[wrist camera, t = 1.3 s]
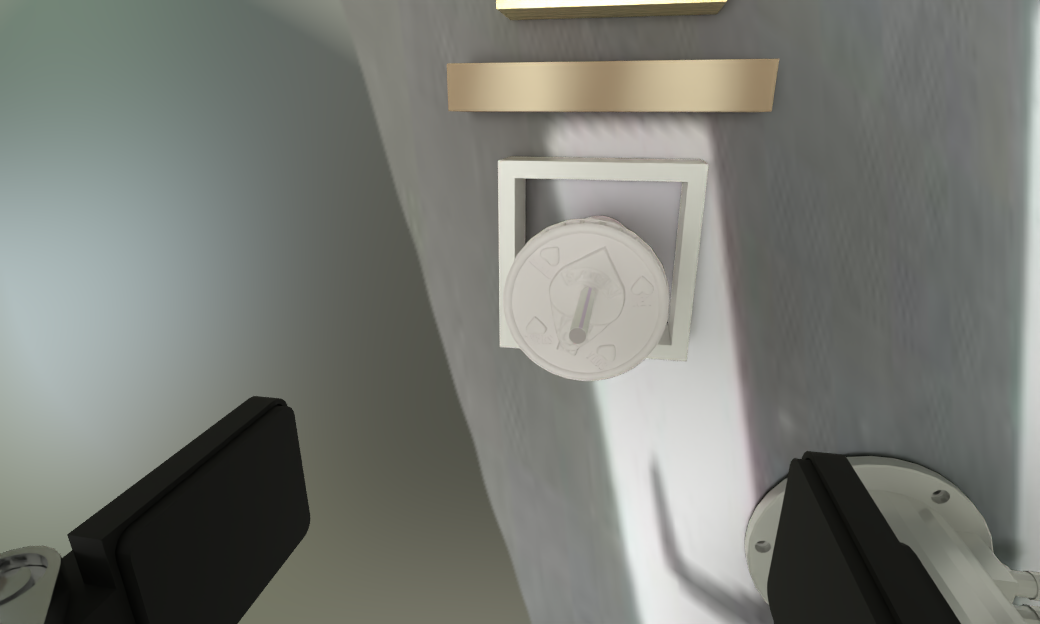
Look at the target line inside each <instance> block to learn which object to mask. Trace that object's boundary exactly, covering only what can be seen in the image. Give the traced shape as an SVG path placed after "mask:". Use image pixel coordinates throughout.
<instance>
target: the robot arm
mask: <svg viewBox="0 0 1040 624" xmlns="http://www.w3.org/2000/svg"><path fill="white" fill-rule="evenodd" d="M309 524H310V512H309V505H308V499H307V494H306V486H305V480H304V473H303V468H302V460H301V454H300V448H299V441H298V435H297V428H296V422H295V415H294V411H293V410H292V408H290V407H288V406H287V404H286V402H285V401H284V400H283V399H279V398H269V397H258V396H253V397H251V398H249V399H248V400H247V401H245V402H244V403H242V404H241V405H240V406H238V407H237V408H236V409H234V410H233V411H232V412H231V413H229V414H228V415H226V416H225V417H224V418H222V419H221V420H220V421H218V422H217V423H216V424H215V425H213V426H212V427H210V428H209V429H208V430H206V431H205V432H204V433H202V434H201V435H200V436H198V437H197V438H196V439H194V440H193V441H192V442H190V443H189V444H188V445H186V446H185V447H184V448H182V449H181V450H180V451H178V452H177V453H176V454H174V455H173V456H172V457H170V458H169V459H168V460H166V461H165V462H164V463H162V464H161V465H160V466H159V467H157V468H156V469H154V470H153V471H152V472H150V473H149V474H148V475H146V476H145V477H144V478H142V479H141V480H140V481H138V482H137V483H136V484H134V485H133V486H132V487H130V488H129V489H128V490H126V491H125V492H124V493H122V494H121V495H120V496H118V497H117V498H116V499H114V500H113V501H112V502H110V503H109V504H108V505H106V506H105V507H104V508H102V509H101V510H100V511H98V512H97V513H96V514H94V515H93V516H91V517H90V518H89V519H87V520H86V521H85V522H83V523H82V524H81V525H79V526H78V527H77V528H75V529H74V530H73V531H71V532H70V533H69V534H68V538H69V541H70V544H71V547H72V551H71V552H69V553H68V554H67V555H66V556H64V557H63V558H61V555H60V554H59V553H58V552H57V551H56V550H55V549H54V548H50V547H47V546H27V547H22V548H18V549H13V550H9V551H6V552H3V553H0V624H237V623H238V622H239V621H240V620H241V618H242V617H243V616H244V614H245V613H246V612H247V611H248V609H249V608H250V607H251V605H252V604H253V603H254V601H255V600H256V599H257V597H258V596H259V595H260V594H261V592H262V591H263V590H264V588H265V587H266V586H267V585H268V583H269V582H270V580H271V579H272V578H273V577H274V575H275V574H276V573H277V571H278V570H279V569H280V568H281V566H282V565H283V564H284V562H285V561H286V560H287V559H288V557H289V556H290V555H291V553H292V552H293V551H294V549H295V548H296V547H297V545H298V544H299V543H300V541H301V540H302V539H303V538H304V536H305V535H306V533H307V531H308V528H309ZM745 555H746V559H747V564H748V568H749V572H750V575H751V577H752V580H753V582H754V585H755V587H756V589H757V590H758V592H759V593H760V595H761V596H762V598H763V599H764V600H765V602H766V603H767V604H768V605H769V606H770V610H771V613H772V617H773V620H774V624H1040V607H1039V606H1031V605H1024V604H1023V605H1021V606H1019V605H1012V603H1013V601H1014V598H1015V596H1018V597H1025V598H1028V599H1030V600H1037V601H1040V572H1032V571H1023V572H1022V571H1014V570H1010V569H1009V567H1008V566H1007V565H1005V564H1002V563H1001V562H1000V561H999V559H998V558H997V557H996V556H995V555H994V553H993V545H992V537H991V534H990V531H989V529H988V526H987V524H986V522H985V519H984V518H983V516H982V515H981V514H980V512H979V511H978V510H977V508H976V507H975V506H974V504H973V503H972V502H971V501H970V500H969V499H968V498H967V497H966V496H965V495H964V493H963V492H962V491H961V490H960V489H959V488H958V487H957V486H956V485H954V484H953V483H951V482H950V481H948V480H947V479H946V478H944V477H943V476H941V475H940V474H938V473H936V472H934V471H931V470H929V469H927V468H925V467H923V466H920V465H918V464H914V463H911V462H907V461H903V460H899V459H895V458H886V457H876V456H860V457H845V456H844V455H841V454H831V453H821V452H811V451H807V452H805V453H804V455H803V457H802V459H795V458H794V459H793V460H792V461H791V464H790V468H789V473H788V478H786V479H784V480H783V481H782V482H780V483H779V484H778V485H777V486H776V487H774V488H773V489H772V490H771V491H770V492H768V494H767V495H766V496H765V497H764V498H763V500H762V501H761V502H760V503H759V505H758V506H757V507H756V509H755V511H754V513H753V515H752V517H751V519H750V521H749V523H748V528H747V532H746V536H745Z"/></svg>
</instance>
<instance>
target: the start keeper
mask: <svg viewBox="0 0 1040 624" xmlns="http://www.w3.org/2000/svg"><path fill="white" fill-rule="evenodd" d="M708 166H709V164H708V163H706V162H704V161H703V160H701V159H644V158H582V157H520V156H511V157H507V158H504V159H501V160H498V205H499V309H500V347H509V348H519V346H518V345H517V344H516V342H515V340H514V339H513V337H512V335H511V333H510V331H509V328H508V326H507V323H506V319H505V315H504V309H503V292H504V285H505V281H506V278H507V275H508V272H509V270H510V268H511V266H512V264H513V262H514V260H515V258H516V256H517V254H518V253H519V252H520V251H521V249H522V248H523V247H524V246H525V229H526V178H533V179H576V180H619V181H662V182H682V188H681V198H680V208H679V218H678V228H677V238H676V249H675V259H674V269H673V279H672V289H671V299H670V310H669V320H668V325H666V327H665V330H664V333H663V335H662V337H661V339H660V341H659V342H658V344H657V346H656V347H655V348H654V350H653V351H652V352H651V353H650V354H649V356H648V357H647V358H648V359H661V360H673V361H687V352H688V343H689V334H690V325H691V316H692V308H693V299H694V290H695V281H696V272H697V263H698V254H699V246H700V237H701V228H702V219H703V210H704V201H705V192H706V183H707V175H708Z"/></svg>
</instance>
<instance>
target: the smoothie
mask: <svg viewBox="0 0 1040 624" xmlns="http://www.w3.org/2000/svg"><path fill="white" fill-rule="evenodd" d="M503 309H504V315H505V319H506V323H507V326H508V328H509V331H510V333H511V335H512V337H513V339H514V340H515V342H516V344H517V345H518V346H519V348H520V349H521V350H522V351H523V352H524V353H525V355H526V356H528V357H529V358H530V359H531V360H532V361H533V362H534V363H536V364H537V365H538V366H540V367H542V368H543V369H545V370H547V371H549V372H551V373H553V374H555V375H558V376H561V377H564V378H568V379H573V380H580V381H596V380H603V379H608V378H612V377H615V376H618V375H621V374H623V373H625V372H627V371H629V370H631V369H633V368H634V367H636V366H637V365H638V364H640V363H641V362H642V361H643V360H645V359H646V358H647V357H648V356H649V354H650V353H651V352H652V351H653V350H654V348H655V347H656V346H657V344H658V342H659V341H660V339H661V337H662V335H663V333H664V330H665V327H666V324H667V320H668V314H669V284H668V281H667V278H666V275H665V271H664V268H663V265H662V264H661V262H660V261H659V259H658V257H657V256H656V254H655V253H654V251H653V250H652V248H651V247H650V246H649V245H648V244H647V243H646V242H644V241H643V240H642V239H641V238H640V237H639V236H638V235H636V234H635V233H634V232H632V231H630V230H628V229H626V228H625V227H624V226H623V225H622V224H621V223H620V222H618V221H617V220H615V219H613V218H610V217H607V216H592V217H588V218H584V219H570V220H566V221H563V222H560V223H557V224H555V225H552V226H549V227H547V228H546V229H544V230H543V231H541V232H540V233H538V234H537V235H535V236H534V237H532V238H531V239H530V240H529V241H528V242H527V243H526V245H525V246H524V247H523V248H522V249H521V251H520V252H519V253H518V254H517V256H516V258H515V260H514V262H513V264H512V266H511V268H510V270H509V272H508V275H507V278H506V281H505V285H504V292H503Z"/></svg>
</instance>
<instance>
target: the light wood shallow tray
mask: <svg viewBox="0 0 1040 624" xmlns="http://www.w3.org/2000/svg"><path fill="white" fill-rule="evenodd" d="M726 2H727V0H497V10H499V11H500V12H501V13H502V14H504V15H505V16H506V17H507V18H509V19H510V20H532V19H567V18H602V17H637V16H672V15H707V14H717V13H718V12H719V11H720V10H721V8H722V7H723V6H724V5H725V3H726Z"/></svg>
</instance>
